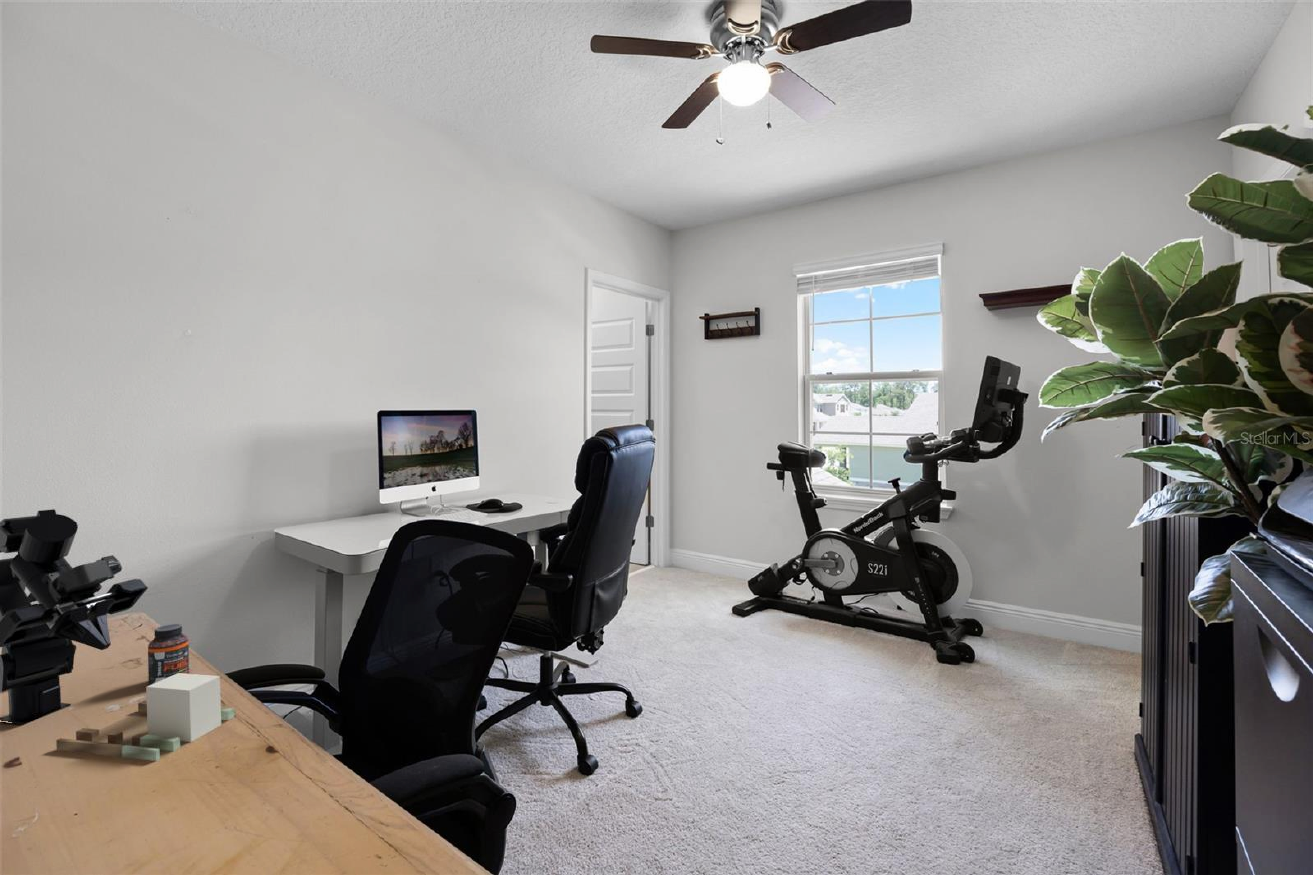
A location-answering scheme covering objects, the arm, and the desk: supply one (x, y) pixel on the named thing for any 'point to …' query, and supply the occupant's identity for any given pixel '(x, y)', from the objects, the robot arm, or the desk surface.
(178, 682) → the block
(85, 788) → the desk surface
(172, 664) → the supplement bottle
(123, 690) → the desk surface
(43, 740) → the desk surface
